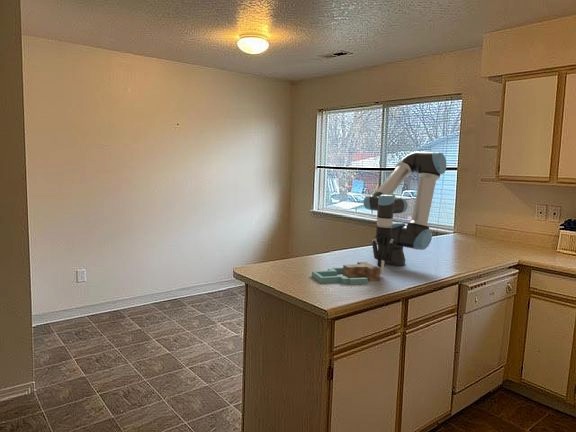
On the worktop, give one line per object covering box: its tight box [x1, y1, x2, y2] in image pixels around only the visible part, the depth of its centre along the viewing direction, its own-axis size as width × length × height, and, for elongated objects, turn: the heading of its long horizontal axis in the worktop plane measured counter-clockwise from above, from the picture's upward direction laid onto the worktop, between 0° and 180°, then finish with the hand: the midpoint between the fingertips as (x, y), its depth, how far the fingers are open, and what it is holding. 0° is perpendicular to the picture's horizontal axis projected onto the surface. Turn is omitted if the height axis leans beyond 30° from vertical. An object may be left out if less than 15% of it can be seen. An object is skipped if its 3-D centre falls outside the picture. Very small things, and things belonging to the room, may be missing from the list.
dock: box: [311, 266, 369, 285], centre depth 207 cm, size 22×21×2 cm
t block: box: [342, 261, 381, 282], centre depth 210 cm, size 15×14×6 cm
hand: (380, 273), depth 214 cm, fingers closed
